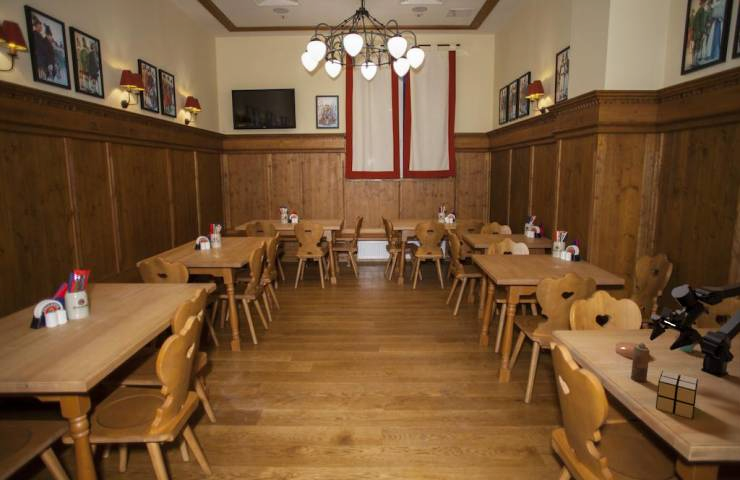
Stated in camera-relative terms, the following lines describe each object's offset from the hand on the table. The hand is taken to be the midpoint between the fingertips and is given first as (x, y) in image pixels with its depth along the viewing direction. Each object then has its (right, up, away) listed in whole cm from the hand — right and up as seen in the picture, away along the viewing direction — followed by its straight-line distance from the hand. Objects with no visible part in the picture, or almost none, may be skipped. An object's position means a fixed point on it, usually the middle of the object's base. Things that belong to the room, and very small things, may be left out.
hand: (660, 344), depth 163 cm
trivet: (+4, -10, +24) cm, 26 cm away
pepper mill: (-8, -13, +1) cm, 15 cm away
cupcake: (+29, -9, +27) cm, 41 cm away
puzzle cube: (-7, -17, -18) cm, 26 cm away
